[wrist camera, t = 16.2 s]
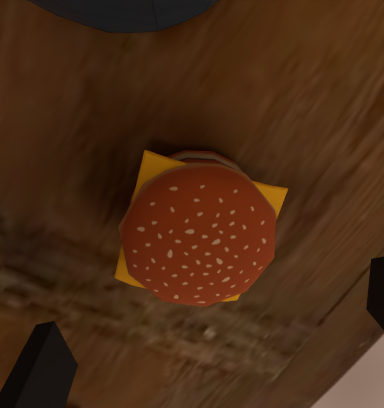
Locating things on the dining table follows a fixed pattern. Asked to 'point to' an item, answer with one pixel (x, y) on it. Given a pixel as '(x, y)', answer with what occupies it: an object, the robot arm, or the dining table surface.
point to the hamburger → (197, 228)
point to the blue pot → (126, 13)
